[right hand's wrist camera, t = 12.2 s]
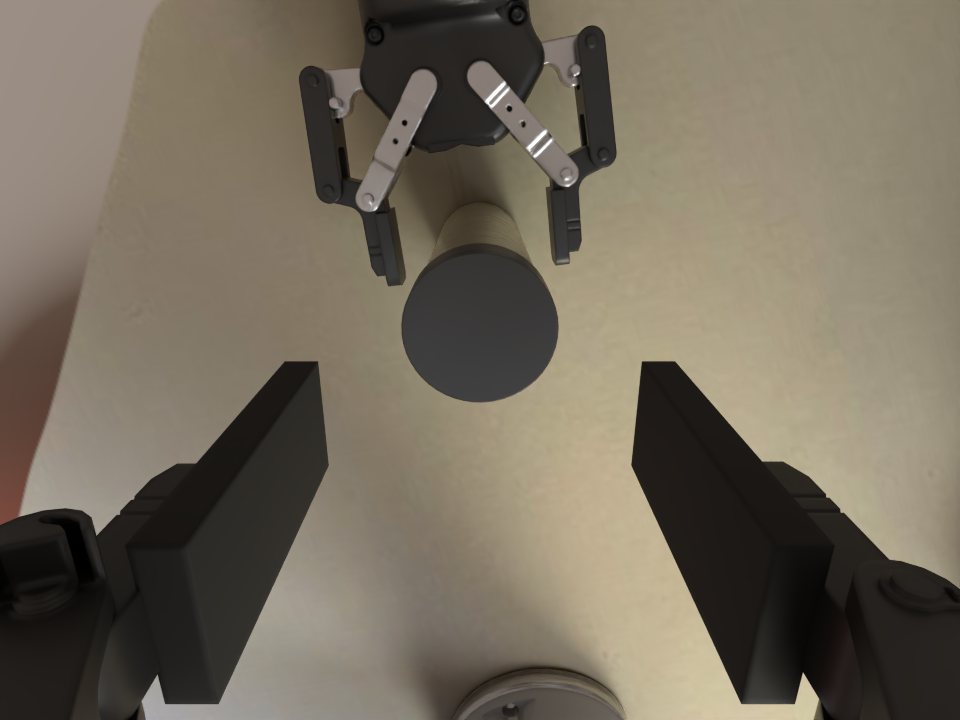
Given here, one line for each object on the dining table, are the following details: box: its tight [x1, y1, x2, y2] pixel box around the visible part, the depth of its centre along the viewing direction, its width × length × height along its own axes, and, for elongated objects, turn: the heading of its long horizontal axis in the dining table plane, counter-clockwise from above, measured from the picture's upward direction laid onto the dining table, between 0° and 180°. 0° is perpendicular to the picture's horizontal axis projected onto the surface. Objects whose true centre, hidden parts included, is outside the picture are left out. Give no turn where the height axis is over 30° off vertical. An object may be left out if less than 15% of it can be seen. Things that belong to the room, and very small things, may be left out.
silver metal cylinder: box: [428, 202, 533, 265], centre depth 29 cm, size 5×5×17 cm
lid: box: [402, 243, 559, 402], centre depth 21 cm, size 5×5×2 cm
